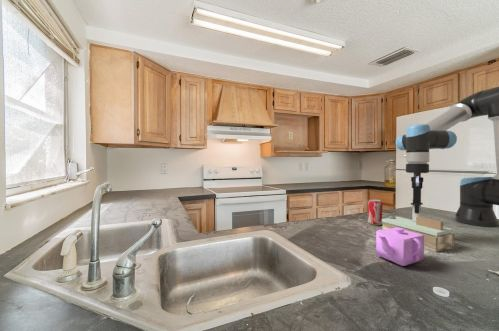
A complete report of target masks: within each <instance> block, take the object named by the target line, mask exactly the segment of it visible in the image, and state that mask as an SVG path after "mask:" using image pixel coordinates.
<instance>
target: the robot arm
mask: <svg viewBox="0 0 499 331" xmlns="http://www.w3.org/2000/svg"><path fill="white" fill-rule="evenodd" d="M484 116H487V119H488V120H490V121H491V122H493V124H492V125H493V136H494V138H493V139H494V152H495V162H496V163H495V164H496V174H495V175H494V176H481V177H480V176H479V177H478V176H477V177H464V178H461V179H460V181H459V182H460V183H459V207H458V209H457V210H456V213H455V216H454V220H455V221H457V222H459V223H462V224H466V225H471V226H480V227H489V228H491V227H492V228H493V227H499V220H498V218H497V216H496V213H495V211H494V206H499V86H496V87H492V88H489V89H484V90H480V91H478V92H475V93H472V94H471V95H469V96H466V97H465V98H462V99H461V100H460V101H458V102H456V103H454V104H453V105H451V106H450V107H449V109H448V110H446V111H444V112H443V113H441V114H440V115H438V116H437V117H434V118H433V119H432V120H430V121H428V122H426V123H422V124H421V123H420V124H419V123H418V124H412V125H411V124H410V125H408V126H407V127H406V131H405V132H406V134H402V135H399V136H397V138H396V139H395V147H397V149H399V151H405V153H406V154H405V155H404V158H405V162H406V164H405V172H406V173H408V174H409V173H410V174H411V173H412V174H413V176H411V177H410V182H411V188H412V202H411V203H410V205H412V215H411V216H412V218H411V220H412V221H416V217H422V206H424V204H423V202H422V189H423V183H424V177H422V174H427V173H429V172H430V164H429V163H430V150H435V149H437V150H439V149H440V150H445V149H451V148H453V147H454V146H455V145H456V144H457V141H458V137H457V135H456V133H455V132H453V131H450V130H449V129H451V128H452V127H454V126H456V125H457V124H460V123H462V122H466V121H468V120H470V119H473V118H478V117H484Z"/></svg>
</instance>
